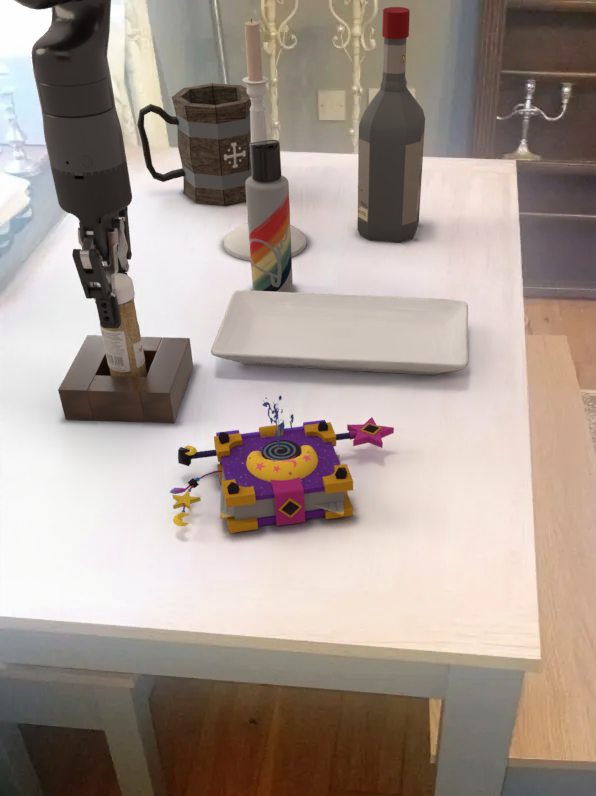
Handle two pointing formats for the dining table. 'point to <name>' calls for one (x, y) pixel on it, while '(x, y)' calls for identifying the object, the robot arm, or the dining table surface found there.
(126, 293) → the sprinkles bottle
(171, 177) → the mug
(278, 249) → the lotion bottle
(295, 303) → the tray
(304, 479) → the book
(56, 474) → the dining table surface
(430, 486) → the dining table surface
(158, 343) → the hollow square block
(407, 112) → the liquor
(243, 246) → the candlestick
